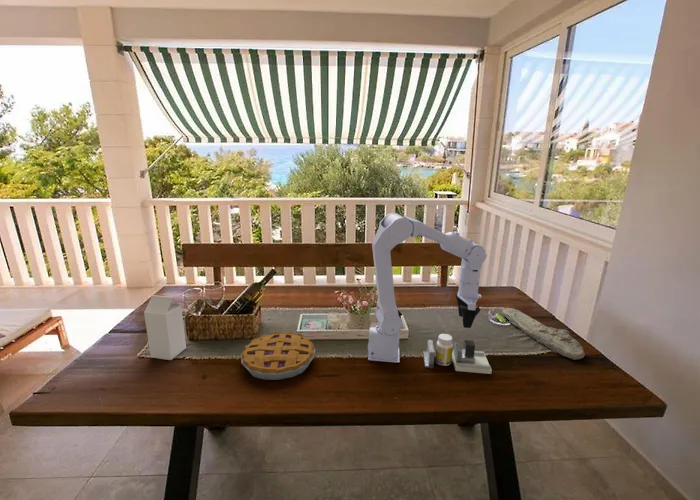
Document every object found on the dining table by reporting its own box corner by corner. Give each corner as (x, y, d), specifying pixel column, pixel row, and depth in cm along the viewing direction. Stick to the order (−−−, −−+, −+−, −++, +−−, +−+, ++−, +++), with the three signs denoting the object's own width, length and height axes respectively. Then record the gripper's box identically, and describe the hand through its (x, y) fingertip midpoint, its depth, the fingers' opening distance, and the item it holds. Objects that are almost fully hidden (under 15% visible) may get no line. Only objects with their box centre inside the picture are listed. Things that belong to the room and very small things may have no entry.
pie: (313, 340, 118) (313, 327, 117) (317, 381, 97) (317, 365, 96) (246, 344, 115) (245, 331, 113) (235, 387, 94) (234, 371, 93)
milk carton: (171, 360, 105) (163, 302, 100) (150, 357, 106) (141, 299, 101) (186, 348, 112) (179, 292, 107) (166, 345, 113) (159, 290, 108)
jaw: (425, 367, 104) (426, 352, 102) (423, 352, 111) (424, 338, 110) (433, 368, 103) (434, 353, 102) (430, 353, 111) (432, 339, 110)
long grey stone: (514, 315, 142) (493, 319, 140) (515, 303, 141) (494, 306, 139) (594, 358, 109) (568, 364, 107) (595, 342, 108) (569, 348, 106)
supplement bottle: (449, 357, 109) (452, 333, 107) (452, 366, 104) (455, 341, 102) (434, 356, 109) (436, 332, 107) (436, 365, 105) (438, 340, 102)
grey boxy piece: (456, 363, 103) (458, 347, 102) (453, 352, 109) (455, 337, 107) (474, 365, 103) (476, 348, 101) (470, 354, 108) (472, 338, 107)
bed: (455, 370, 102) (456, 364, 102) (451, 354, 110) (451, 348, 110) (491, 373, 101) (492, 367, 101) (484, 357, 109) (485, 351, 109)
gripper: (488, 290, 100) (483, 333, 104) (477, 274, 114) (473, 312, 117) (463, 289, 101) (458, 331, 104) (455, 272, 115) (451, 311, 118)
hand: (464, 321), depth 111 cm, fingers open, 7 cm apart
